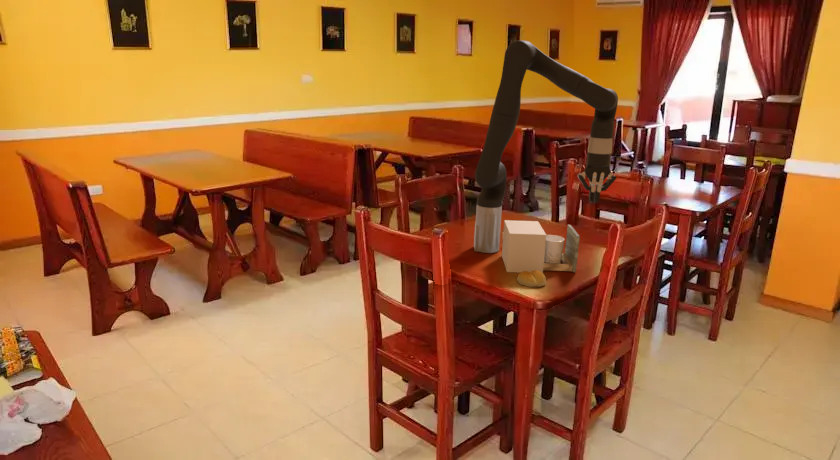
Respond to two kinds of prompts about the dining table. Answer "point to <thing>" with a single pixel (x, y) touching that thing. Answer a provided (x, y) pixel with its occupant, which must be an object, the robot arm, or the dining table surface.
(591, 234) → the dining table surface
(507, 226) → the white upright box
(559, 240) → the white cup
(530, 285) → the bread roll
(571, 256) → the carrier
